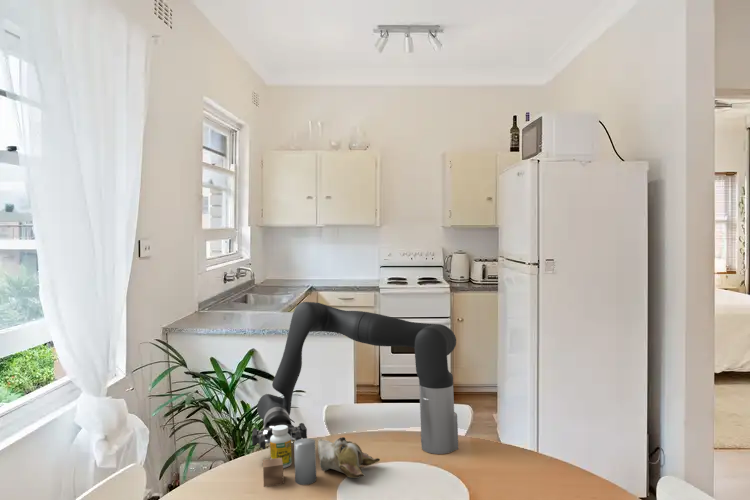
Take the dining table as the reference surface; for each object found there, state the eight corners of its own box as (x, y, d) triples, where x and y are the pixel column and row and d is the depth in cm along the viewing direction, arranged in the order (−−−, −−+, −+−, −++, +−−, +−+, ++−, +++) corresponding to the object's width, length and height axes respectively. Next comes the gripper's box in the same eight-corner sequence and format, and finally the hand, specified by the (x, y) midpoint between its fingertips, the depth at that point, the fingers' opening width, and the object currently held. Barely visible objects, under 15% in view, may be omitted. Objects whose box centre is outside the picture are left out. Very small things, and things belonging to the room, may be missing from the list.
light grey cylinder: (314, 474, 121) (313, 437, 121) (317, 483, 116) (316, 444, 117) (294, 477, 120) (293, 439, 120) (296, 486, 115) (295, 447, 115)
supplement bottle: (286, 458, 131) (285, 422, 131) (295, 465, 127) (294, 427, 127) (267, 464, 128) (266, 426, 128) (275, 471, 124) (274, 432, 124)
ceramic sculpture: (329, 425, 130) (381, 435, 124) (328, 458, 130) (380, 470, 124) (307, 440, 120) (363, 451, 114) (307, 475, 121) (362, 489, 115)
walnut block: (282, 476, 121) (281, 457, 121) (283, 484, 117) (282, 464, 117) (263, 478, 120) (262, 460, 120) (263, 486, 115) (263, 467, 116)
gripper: (251, 413, 140) (251, 431, 125) (302, 407, 144) (308, 425, 128) (252, 439, 140) (252, 462, 124) (302, 433, 144) (309, 454, 128)
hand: (281, 443), depth 126 cm, fingers open, 8 cm apart
